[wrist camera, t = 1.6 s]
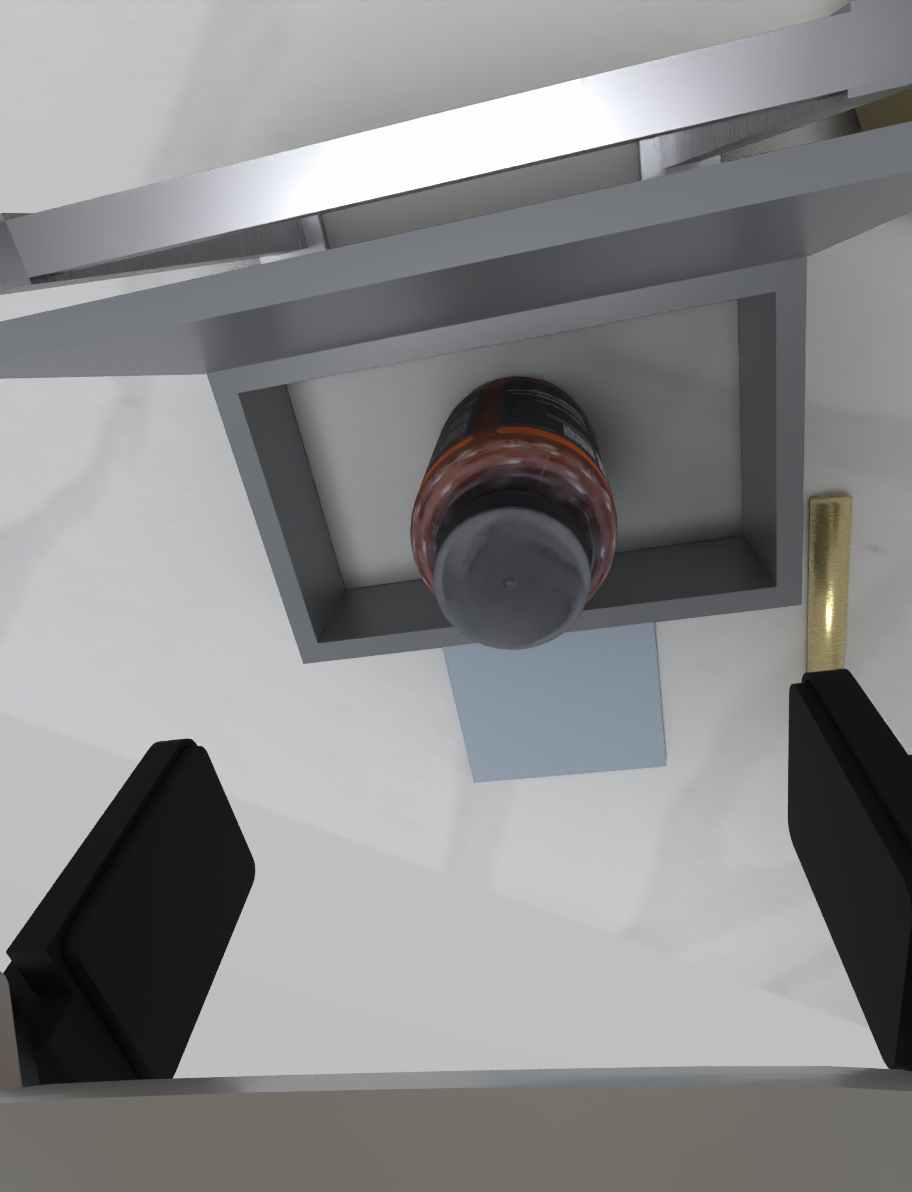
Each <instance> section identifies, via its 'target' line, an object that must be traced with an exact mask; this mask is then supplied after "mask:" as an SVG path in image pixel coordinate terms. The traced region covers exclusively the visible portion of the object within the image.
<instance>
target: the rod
mask: <svg viewBox="0 0 912 1192" xmlns="http://www.w3.org/2000/svg"><path fill="white" fill-rule="evenodd" d="M851 517H852V496H851V495H849V494H846V493H836V494H829V495H822V496H815V497H811V498H810V539H809V592H808V646H807V672H817V671H826V670H835V669H845V650H846V628H847V606H848V584H849V561H850V539H851Z"/></svg>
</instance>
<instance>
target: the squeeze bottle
mask: <svg viewBox="0 0 912 1192" xmlns="http://www.w3.org/2000/svg"><path fill="white" fill-rule="evenodd" d="M855 111H856V114H857V117H858V120H859V123H860V126H861V129H862V132H864V131H869V130H873V129H878V128H883V127H887V126H892V125H896V124H901V123H905V122H910V121H912V89H909V90H906V91H903V92H900V93H897V94H894V95H891V96H889V97H886V98H883V99H880V100H877V101H874V102H871V103H868V104H865V105H862V106H860V107H857V108H855Z"/></svg>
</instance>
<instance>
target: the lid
mask: <svg viewBox="0 0 912 1192" xmlns="http://www.w3.org/2000/svg"><path fill="white" fill-rule="evenodd" d="M911 211H912V121H910V122H905V123H901V124H896V125H892V126H887V127H883V128H878V129H873V130H869V131H864V132H860V133H855V134H851V135H846V136H842V137H837V138H833V139H828V140H823V141H819V142H814V143H810V144H805V145H801V146H796V147H792V148H787V149H783V150H778V151H774V152H769V153H764V154H760V155H755V156H751V157H746V158H742V159H737V160H733V161H728V162H724V163H719V164H714V165H710V166H705V167H701V168H696V169H692V170H687V171H683V172H678V173H674V174H669V175H664V176H660V177H655V178H651V179H646V180H642V181H637V182H633V183H628V184H624V185H619V186H615V187H610V188H605V189H601V190H596V191H592V192H587V193H583V194H578V195H574V196H569V197H565V198H560V199H555V200H551V201H546V202H542V203H537V204H533V205H528V206H524V207H519V208H515V209H510V210H506V211H501V212H496V213H492V214H487V215H483V216H478V217H474V218H469V219H465V220H460V221H456V222H451V223H446V224H442V225H437V226H433V227H428V228H424V229H419V230H415V231H410V232H406V233H401V234H397V235H392V236H387V237H383V238H378V239H374V240H369V241H365V242H360V243H356V244H351V245H347V246H342V247H337V248H333V249H328V250H324V251H319V252H315V253H310V254H306V255H301V256H297V257H292V258H287V259H283V260H278V261H274V262H269V263H265V264H260V265H256V266H251V267H247V268H242V269H238V270H233V271H228V272H224V273H219V274H215V275H210V276H206V277H201V278H197V279H192V280H188V281H183V282H178V283H174V284H169V285H165V286H160V287H156V288H151V289H147V290H142V291H138V292H133V293H129V294H124V295H119V296H115V297H110V298H106V299H101V300H97V301H92V302H88V303H83V304H79V305H74V306H69V307H65V308H60V309H56V310H51V311H47V312H42V313H38V314H33V315H29V316H24V317H19V318H15V319H10V320H6V321H1V322H0V379H1V378H48V377H95V376H142V375H189V374H206V373H211V372H216V371H221V370H227V369H232V368H237V367H242V366H247V365H252V364H257V363H262V362H267V361H273V360H278V359H283V358H288V357H293V356H298V355H303V354H308V353H313V352H319V351H324V350H329V349H334V348H339V347H344V346H349V345H354V344H360V343H365V342H370V341H375V340H380V339H385V338H390V337H395V336H400V335H406V334H411V333H416V332H421V331H426V330H431V329H436V328H441V327H446V326H452V325H457V324H462V323H467V322H472V321H477V320H482V319H487V318H493V317H498V316H503V315H508V314H513V313H518V312H523V311H528V310H533V309H539V308H544V307H549V306H554V305H559V304H564V303H569V302H574V301H579V300H585V299H590V298H595V297H600V296H605V295H610V294H615V293H620V292H626V291H631V290H636V289H641V288H646V287H651V286H656V285H661V284H666V283H672V282H677V281H682V280H687V279H692V278H697V277H702V276H707V275H712V274H718V273H723V272H728V271H733V270H738V269H743V268H748V267H753V266H759V265H764V264H769V263H774V262H779V261H784V260H789V259H794V258H799V257H805V256H810V255H812V254H815V253H817V252H819V251H821V250H824V249H826V248H828V247H831V246H833V245H835V244H837V243H840V242H842V241H844V240H847V239H849V238H851V237H854V236H856V235H858V234H860V233H863V232H865V231H867V230H870V229H872V228H874V227H876V226H879V225H881V224H883V223H886V222H888V221H890V220H893V219H895V218H897V217H899V216H902V215H904V214H906V213H909V212H911Z"/></svg>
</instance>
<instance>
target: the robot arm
mask: <svg viewBox="0 0 912 1192" xmlns="http://www.w3.org/2000/svg"><path fill="white" fill-rule="evenodd" d="M788 826H789V832H790V836H791V840H792V843H793V846H794V848H795V850H796V853H797V855H798V858H799V860H800V862H801V865H802V867H803V870H804V872H805V874H806V877H807V879H808V881H809V884H810V886H811V889H812V891H813V893H814V896H815V898H816V901H817V903H818V905H819V908H820V910H821V913H822V915H823V917H824V920H825V922H826V925H827V927H828V929H829V932H830V934H831V936H832V939H833V941H834V944H835V946H836V948H837V951H838V953H839V956H840V958H841V960H842V963H843V965H844V968H845V970H846V972H847V975H848V977H849V979H850V982H851V984H852V987H853V989H854V991H855V994H856V996H857V999H858V1001H859V1003H860V1006H861V1008H862V1011H863V1013H864V1015H865V1018H866V1020H867V1023H868V1025H869V1027H870V1030H871V1032H872V1034H873V1037H874V1039H875V1042H876V1044H877V1046H878V1049H879V1051H880V1054H881V1056H882V1058H883V1060H884V1062H885V1064H886V1065H887V1067H888V1068H889V1069H875V1068H851V1067H831V1066H740V1067H739V1066H732V1067H731V1066H716V1067H715V1066H704V1067H703V1066H693V1067H642V1068H641V1067H640V1068H588V1069H587V1068H586V1069H585V1068H583V1069H533V1070H531V1069H528V1070H483V1071H482V1070H481V1071H441V1072H440V1071H439V1072H397V1073H395V1072H394V1073H356V1074H319V1075H318V1074H315V1075H279V1076H246V1077H214V1078H213V1077H212V1078H181V1079H180V1078H178V1079H172V1078H173V1076H174V1074H175V1072H176V1070H177V1068H178V1065H179V1062H180V1060H181V1057H182V1055H183V1053H184V1051H185V1048H186V1046H187V1043H188V1041H189V1038H190V1036H191V1033H192V1031H193V1029H194V1026H195V1023H196V1021H197V1019H198V1016H199V1014H200V1011H201V1009H202V1007H203V1004H204V1002H205V999H206V997H207V994H208V992H209V990H210V987H211V985H212V982H213V980H214V977H215V975H216V972H217V970H218V968H219V965H220V963H221V960H222V958H223V955H224V953H225V951H226V948H227V945H228V943H229V941H230V938H231V936H232V933H233V931H234V928H235V926H236V924H237V921H238V919H239V916H240V914H241V911H242V909H243V907H244V904H245V902H246V899H247V897H248V894H249V892H250V889H251V887H252V885H253V882H254V877H255V863H254V860H253V857H252V855H251V852H250V850H249V848H248V845H247V843H246V841H245V839H244V836H243V834H242V831H241V829H240V827H239V825H238V822H237V820H236V818H235V815H234V813H233V811H232V808H231V806H230V804H229V801H228V799H227V797H226V795H225V792H224V790H223V788H222V785H221V783H220V781H219V778H218V776H217V774H216V771H215V769H214V767H213V765H212V762H211V760H210V758H209V755H208V753H207V751H206V750H205V748H203V747H202V746H197V744H196V743H195V742H194V741H193V740H192V739H178V740H169V741H160V742H156V743H154V744H153V745H152V746H151V747H150V748H149V750H148V751H147V753H146V754H145V755H144V757H143V758H142V760H141V761H140V763H139V764H138V765H137V767H136V768H135V770H134V771H133V772H132V774H131V776H130V777H129V778H128V780H127V781H126V782H125V784H124V785H123V787H122V788H121V789H120V791H119V792H118V794H117V795H116V797H115V798H114V800H113V801H112V802H111V804H110V805H109V806H108V808H107V809H106V811H105V812H104V814H103V815H102V816H101V818H100V819H99V821H98V822H97V824H96V825H95V826H94V828H93V829H92V831H91V832H90V833H89V835H88V836H87V838H86V839H85V840H84V842H83V843H82V845H81V846H80V848H79V849H78V850H77V852H76V853H75V855H74V856H73V857H72V859H71V860H70V862H69V863H68V865H67V866H66V867H65V869H64V870H63V872H62V873H61V875H60V876H59V877H58V879H57V880H56V882H55V883H54V884H53V886H52V887H51V889H50V890H49V892H48V893H47V894H46V896H45V897H44V899H43V900H42V902H41V903H40V904H39V906H38V907H37V909H36V910H35V911H34V913H33V914H32V916H31V917H30V919H29V920H28V921H27V923H26V924H25V925H24V927H23V928H22V930H21V931H20V933H19V934H18V935H17V937H16V938H15V940H14V941H13V942H12V944H11V945H10V947H9V948H8V950H7V951H6V953H7V954H8V956H9V957H10V959H11V960H12V961H11V963H10V964H9V966H8V967H7V969H6V970H5V971H4V973H2V972H0V1192H912V755H908V754H907V753H906V751H905V750H904V748H903V747H902V745H901V744H900V743H899V741H898V740H897V738H896V737H895V735H894V734H893V733H892V731H891V730H890V728H889V727H888V725H887V724H886V722H885V721H884V720H883V718H882V717H881V715H880V714H879V712H878V711H877V710H876V708H875V707H874V705H873V704H872V702H871V701H870V700H869V698H868V697H867V695H866V694H865V692H864V691H863V690H862V688H861V687H860V685H859V684H858V682H857V681H856V680H855V678H854V677H853V675H852V674H851V673H850V672H849V671H848V670H847V669H835V670H826V671H817V672H807V673H805V674H803V677H802V683H797V684H792V685H791V686H790V690H789V759H788Z"/></svg>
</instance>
